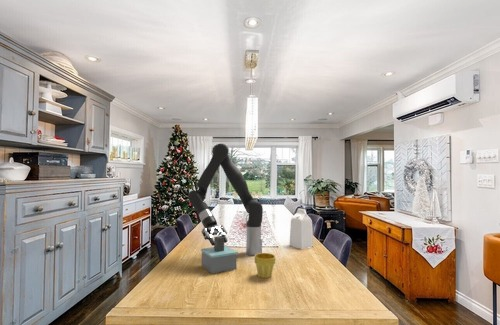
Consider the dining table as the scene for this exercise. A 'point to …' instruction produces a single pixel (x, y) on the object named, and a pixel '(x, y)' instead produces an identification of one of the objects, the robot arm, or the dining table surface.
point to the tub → (219, 263)
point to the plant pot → (264, 264)
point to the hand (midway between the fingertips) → (220, 243)
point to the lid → (218, 249)
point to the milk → (301, 230)
